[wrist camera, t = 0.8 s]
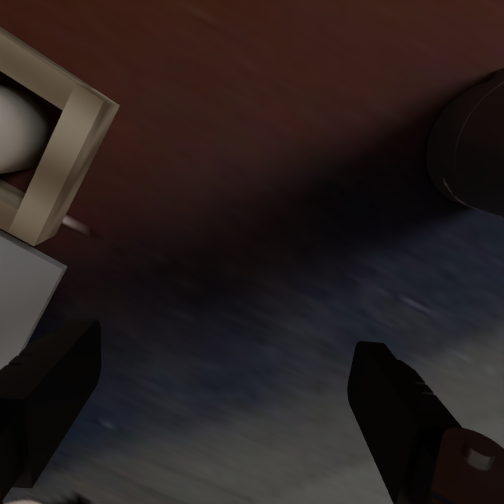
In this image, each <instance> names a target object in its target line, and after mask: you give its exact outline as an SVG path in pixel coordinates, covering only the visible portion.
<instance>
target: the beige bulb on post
mask: <svg viewBox="0 0 504 504" xmlns="http://www.w3.org/2000/svg"><path fill="white" fill-rule="evenodd" d="M52 134H53V131H52V126H51V123H50V120H49V118H48V116H47V114H46V112H45V110H44V109H43V108H42V106H41V105H40V104H39V103H38V102H37V101H36V100H35V99H34V98H33V97H31V96H30V95H29V94H27V93H25V92H24V91H22V90H19V89H17V88H13V87H9V86H4V85H0V174H2V173H9V172H16V171H23V170H29V169H32V168H35V167H37V166H38V165H39V163H40V161H41V158H42V156H43V154H44V152H45V150H46V147H47V145H48V143H49V141H50V139H51V136H52Z"/></svg>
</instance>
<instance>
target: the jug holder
mask: <svg viewBox="0 0 504 504" xmlns="http://www.w3.org/2000/svg"><path fill="white" fill-rule="evenodd" d="M0 71H1V72H3V73H4V74H6V75H8V76H9V77H11V78H12V79H14V80H16V81H17V82H19V83H20V84H22V85H23V86H25V87H27V88H28V89H30V90H31V91H33V92H34V93H36V94H38V95H39V96H41V97H42V98H44V99H45V100H47V101H49V102H50V103H52V104H53V105H55V106H56V107H58V108H60V109H61V110H63V112H62V114H61V116H60V119H59V121H58V123H57V125H56V128H55V130H54V132H53V134H52V136H51V139H50V141H49V143H48V145H47V147H46V150H45V152H44V154H43V156H42V158H41V161H40V163H39V165H38V167H37V169H36V172H35V174H34V176H33V178H32V180H31V183H30V185H29V187H28V189H27V192H26V193H24V192H22V191H21V190H19V189H17V188H15V187H14V186H12V185H10V184H8V183H7V182H5V181H3V180H1V179H0V228H1V229H3V230H5V231H6V232H8V233H10V234H12V235H14V236H16V237H17V238H19V239H21V240H23V241H25V242H27V243H28V244H30V245H32V246H36V245H38V244H40V243H41V242H43V241H45V240H47V239H49V238H51V237H53V236H55V235H56V233H57V231H58V229H59V227H60V225H61V223H62V221H63V219H64V217H65V215H66V213H67V211H68V209H69V207H70V205H71V203H72V201H73V199H74V197H75V195H76V193H77V191H78V189H79V187H80V185H81V183H82V181H83V179H84V177H85V175H86V173H87V170H88V168H89V166H90V164H91V162H92V160H93V158H94V156H95V154H96V152H97V150H98V148H99V146H100V144H101V142H102V140H103V138H104V136H105V134H106V132H107V130H108V128H109V126H110V124H111V122H112V120H113V118H114V116H115V114H116V112H117V110H118V108H119V106H120V105H118V104H117V103H115V102H114V101H112V100H111V99H109V98H108V97H106V96H104V95H103V94H101V93H100V92H98V91H97V90H95V89H94V88H92V87H91V86H89V85H88V84H86V83H85V82H83V81H82V80H80V79H79V78H77V77H76V76H74V75H73V74H71V73H70V72H68V71H67V70H65V69H64V68H62V67H61V66H59V65H58V64H56V63H54V62H53V61H51V60H50V59H48V58H47V57H45V56H44V55H42V54H41V53H39V52H38V51H36V50H35V49H33V48H32V47H30V46H29V45H27V44H26V43H24V42H23V41H21V40H20V39H18V38H17V37H15V36H14V35H12V34H11V33H9V32H7V31H6V30H4V29H3V28H1V27H0Z"/></svg>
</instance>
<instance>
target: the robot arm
mask: <svg viewBox="0 0 504 504" xmlns="http://www.w3.org/2000/svg"><path fill="white" fill-rule="evenodd" d="M426 163H427V169H428V173H429V176H430V179H431V180H432V182H433V184H434V185H435V187H436V189H438V190H439V191H440V192H441V193H442V194H443V195H444V196H445V197H447V198H449V199H450V200H452V201H454V202H457V203H460V204H463V205H465V206H468V207H471V208H474V209H478V210H483V211H486V212H489V213H492V214H495V215H499V216H502V217H504V68H502V69H499V70H498V71H497V73H496V74H495V75H494V76H493V77H492V78H491V79H490V80H489V81H487V82H485V83H483V84H480V85H477V86H475V87H472V88H470V89H468V90H466V91H465V92H463V93H462V94H460V95H458V96H457V97H456V98H455V99H454V100H453V101H452V102H450V103H449V104H448V105H447V106H446V108H445V109H444V110H443V111H442V113H441V114H440V115H439V117H438V118H437V120H436V122H435V124H434V126H433V128H432V130H431V133H430V136H429V139H428V142H427V150H426ZM100 372H101V327H100V323H99V321H98V320H87V319H74V318H72V319H70V320H69V321H68V322H67V323H65V324H64V325H63V326H62V327H61V328H60V329H59V330H58V331H57V332H56V333H55V334H51V333H49V334H47V335H45V336H43V337H41V338H39V339H37V340H35V341H33V342H31V343H30V344H29V345H28V346H27V347H26V348H24V349H23V350H22V351H21V352H20V353H19V356H18V355H17V356H15V357H14V358H13V359H12V360H11V361H10V362H9V364H8V365H5V366H4V367H3V368H2V369H1V370H0V504H3V502H2V500H3V499H4V498H5V496H6V495H7V493H8V492H9V490H10V489H11V488H12V487H19V488H32V487H33V486H34V484H35V483H36V481H37V480H38V478H39V476H40V475H41V473H42V472H43V470H44V468H45V467H46V465H47V464H48V462H49V460H50V459H51V457H52V456H53V454H54V453H55V451H56V449H57V448H58V446H59V445H60V443H61V441H62V440H63V438H64V437H65V435H66V433H67V432H68V430H69V429H70V427H71V426H72V424H73V422H74V421H75V419H76V418H77V416H78V414H79V413H80V411H81V410H82V408H83V406H84V405H85V403H86V402H87V400H88V398H89V397H90V395H91V394H92V392H93V391H94V389H95V387H96V385H97V383H98V380H99V377H100ZM347 392H348V400H349V404H350V407H351V409H352V411H353V413H354V416H355V418H356V420H357V422H358V425H359V427H360V429H361V431H362V434H363V436H364V438H365V440H366V443H367V445H368V447H369V449H370V452H371V454H372V456H373V458H374V461H375V463H376V465H377V467H378V470H379V472H380V474H381V476H382V479H383V481H384V483H385V486H386V488H387V490H388V492H389V495H390V497H391V499H392V501H393V504H504V449H503V448H502V447H501V446H500V445H498V444H497V443H496V442H494V441H493V440H491V439H490V438H488V437H486V436H484V435H482V434H480V433H478V432H475V431H472V430H469V429H465V428H462V427H461V426H460V424H459V423H458V422H457V421H456V419H455V418H454V417H453V416H452V415H451V413H450V412H449V411H448V410H447V409H446V407H445V406H444V405H443V404H442V402H441V401H440V400H439V399H438V398H437V396H436V395H434V394H433V392H432V390H431V389H430V388H429V387H428V385H425V382H424V381H423V379H422V378H421V377H420V376H419V374H418V373H417V372H416V371H415V370H414V369H412V368H411V367H409V366H408V365H407V364H405V363H404V362H403V361H401V360H397V359H396V358H395V356H394V355H393V354H392V353H391V351H390V350H389V349H388V347H387V346H386V345H385V344H384V343H377V342H364V341H359V342H358V343H357V345H356V347H355V352H354V356H353V361H352V366H351V371H350V376H349V381H348V388H347Z"/></svg>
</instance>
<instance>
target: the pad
mask: <svg viewBox="0 0 504 504" xmlns="http://www.w3.org/2000/svg"><path fill="white" fill-rule="evenodd" d="M67 267H68V266H66V265H64V264H62V263H60V262H58V261H57V260H55V259H53V258H51V257H49V256H47V255H46V254H44V253H42V252H40V251H38V250H36V249H34V248H33V247H31V246H29V245H27V244H25V243H23V242H22V241H20V240H18V239H16V238H14V237H12V236H11V235H9V234H7V233H5V232H3V231H1V230H0V370H1V369H2V368H3V367H4V366H5V365H8V364H9V362H10V361H11V360H12V359H13V358H14V357H15V356H17V355H18V356H19V353H20V352H21V351H22V350H23V349H24V348H25V347H26V345H27V343H28V341H29V339H30V337H31V335H32V333H33V331H34V330H35V328H36V326H37V324H38V322H39V320H40V318H41V316H42V314H43V312H44V311H45V309H46V307H47V305H48V303H49V301H50V299H51V297H52V295H53V293H54V292H55V290H56V288H57V286H58V284H59V282H60V280H61V278H62V276H63V274H64V272H65V271H66V269H67Z"/></svg>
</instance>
